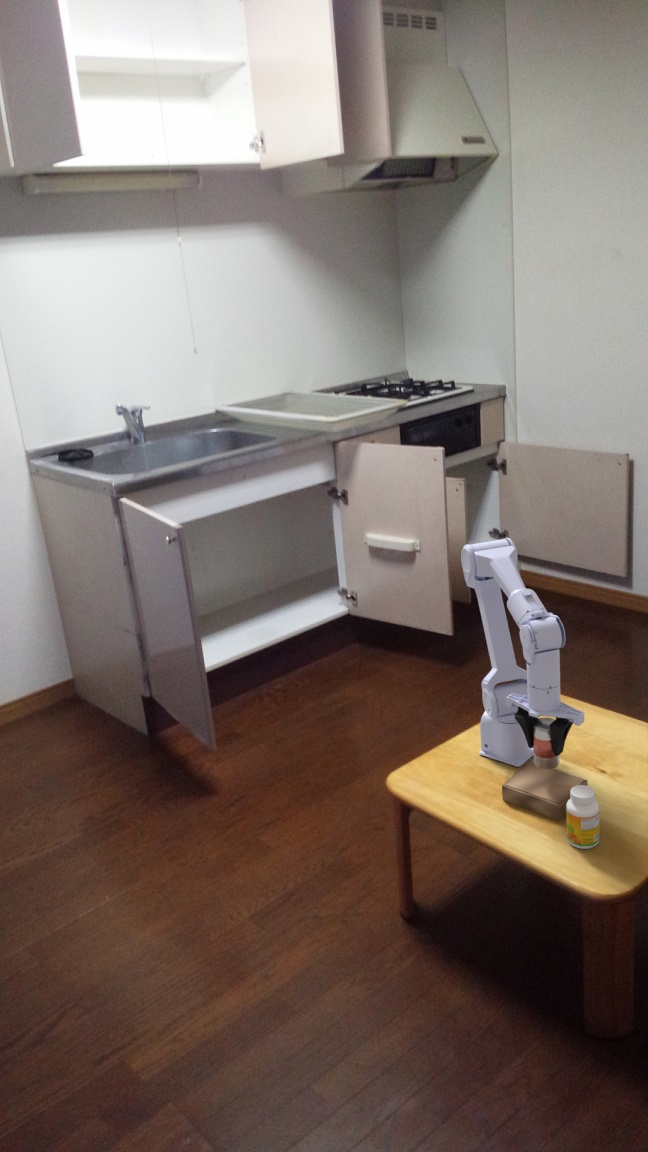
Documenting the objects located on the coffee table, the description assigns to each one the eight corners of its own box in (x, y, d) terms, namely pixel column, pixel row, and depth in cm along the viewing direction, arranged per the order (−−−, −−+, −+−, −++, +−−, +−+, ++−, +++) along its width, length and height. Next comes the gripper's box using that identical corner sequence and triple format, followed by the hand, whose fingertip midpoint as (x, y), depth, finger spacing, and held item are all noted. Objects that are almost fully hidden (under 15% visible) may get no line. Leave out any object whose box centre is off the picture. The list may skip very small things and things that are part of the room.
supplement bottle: (562, 833, 156) (561, 784, 153) (592, 828, 156) (592, 780, 153) (573, 851, 151) (572, 802, 148) (604, 847, 151) (604, 797, 148)
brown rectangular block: (502, 799, 168) (501, 785, 167) (530, 775, 174) (529, 761, 173) (561, 820, 160) (560, 805, 159) (587, 794, 166) (587, 779, 165)
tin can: (528, 764, 165) (527, 725, 163) (542, 753, 168) (541, 715, 166) (551, 771, 162) (550, 732, 159) (564, 761, 165) (564, 722, 162)
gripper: (496, 681, 162) (499, 748, 166) (570, 700, 152) (571, 770, 156) (516, 667, 166) (519, 732, 171) (589, 684, 157) (590, 752, 161)
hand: (545, 749), depth 164 cm, fingers closed on tin can, 5 cm apart
